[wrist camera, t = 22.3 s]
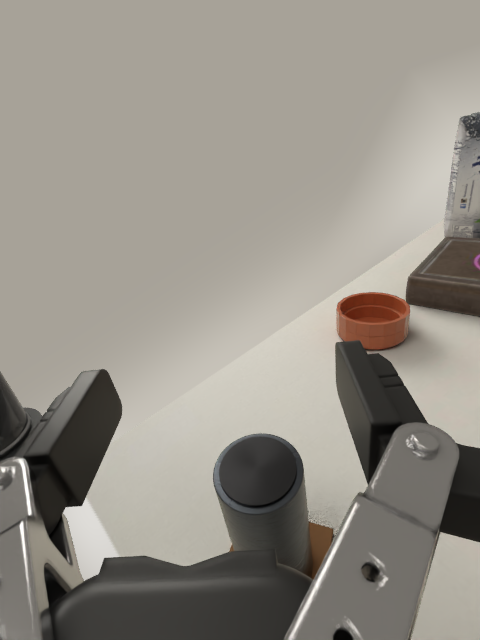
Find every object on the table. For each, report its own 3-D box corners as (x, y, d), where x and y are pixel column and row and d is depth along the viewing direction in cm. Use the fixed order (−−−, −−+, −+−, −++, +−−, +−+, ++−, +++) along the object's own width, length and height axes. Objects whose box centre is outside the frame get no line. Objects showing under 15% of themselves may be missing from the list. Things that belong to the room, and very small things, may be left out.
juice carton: (438, 240, 81) (455, 110, 68) (453, 227, 87) (471, 106, 74) (482, 243, 75) (510, 101, 62) (494, 229, 81) (522, 98, 68)
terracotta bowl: (332, 348, 50) (332, 322, 47) (341, 315, 58) (341, 291, 55) (408, 355, 46) (411, 326, 44) (406, 318, 54) (408, 292, 51)
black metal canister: (228, 588, 25) (196, 496, 20) (254, 515, 29) (233, 425, 24) (303, 619, 23) (290, 525, 17) (319, 536, 27) (311, 440, 22)
